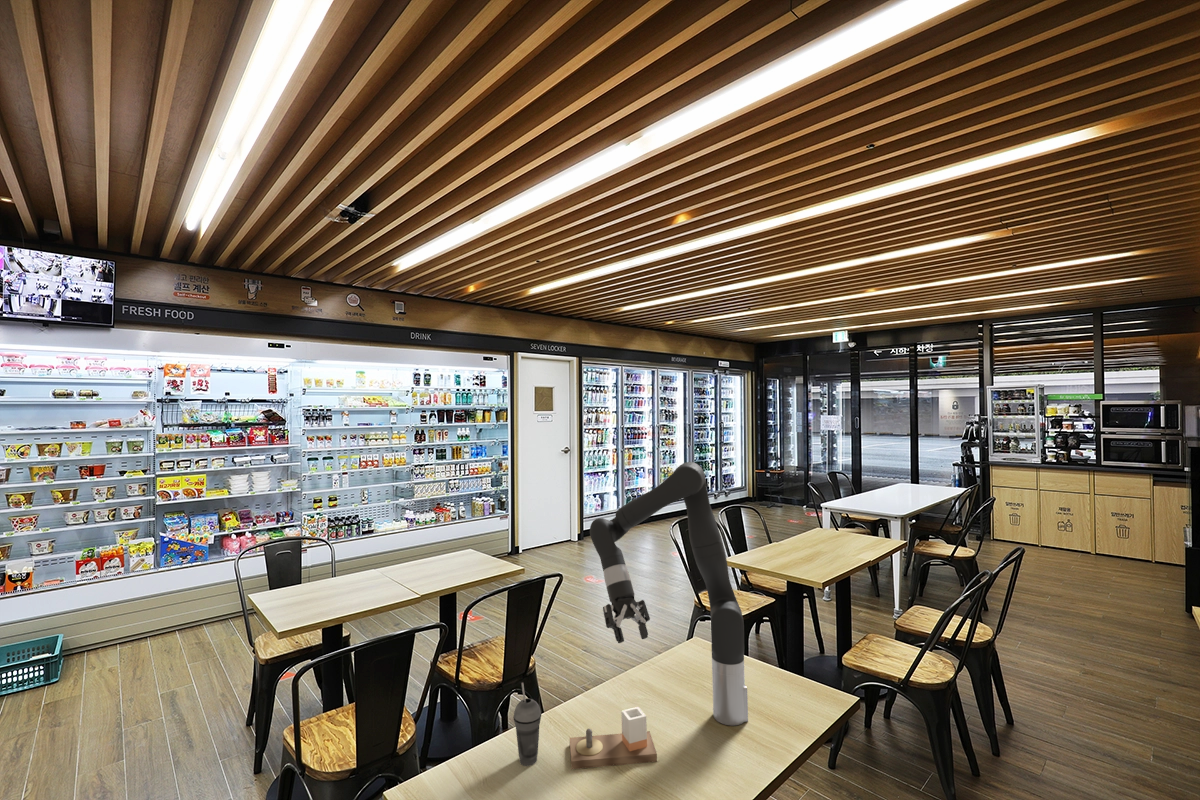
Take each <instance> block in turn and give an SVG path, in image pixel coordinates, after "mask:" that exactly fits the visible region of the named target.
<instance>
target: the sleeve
mask: <svg viewBox="0 0 1200 800" xmlns="http://www.w3.org/2000/svg"><path fill="white" fill-rule="evenodd" d="M647 726H648V725H647V715H646V713H644V711H643V710H642V708H640V706H635V707H631V708H628V709H627V708H625V709H623V710H621V733H622V741H623V743H624V744H625V745H626V747H627V748H628V750H629V751H633V750H637V749H641V748H644V747H647V731H648V730H647V729H648V728H647Z"/></svg>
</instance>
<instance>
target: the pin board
mask: <svg viewBox="0 0 1200 800" xmlns="http://www.w3.org/2000/svg"><path fill="white" fill-rule="evenodd" d="M569 749H570V751H569V753H570V754H569V755H570V763H571V765H570V768H571V770H580V769H588V768H589V769H590V768H601V767H611V766H613V767H614V766H623V765H633V764H644V763H645V764H646V763H656V762H658V753H657V750H656V747H655V744H654V741H653V738H652V734H651V732H650V730H649V731H648V730H647V747H644V748H641V749H637V750H633V751H629V750H628V748H627V747H626V745H625V744H624V743H623V741H622V732H621V733H612V734H611V733H610V734H609V733H608V734H601V735H600V734H599V735H598V734H597V735H593V730H592V729H591V728H587V729H586V732H585V736H576V737H569Z"/></svg>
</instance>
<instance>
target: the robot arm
mask: <svg viewBox="0 0 1200 800" xmlns="http://www.w3.org/2000/svg"><path fill="white" fill-rule="evenodd" d="M707 486H708V485H707V481H706V474H705V472H704V469H703V468H702V467H701V466H700V465H699V464H698V463H696V462H693V461H686V462H684V463H682V464H680V465H678V466H677V468H675V469H674V471H673V473H671V475H668V477H667V478H666V479H665V480H664V481H662V482H661V483H660V484H659V485H658V486H656V487H655V488H652V489H651V490H650V491H648V492H645V493H643V494H642V495H640V496H638V497H635V498H634V499H632V500H631V501H629V502H627V503H626V504H624V505H622V506H621V507H619V509H618V508H617V511H616V512H615V517H613V518H612V519H605V518H603V517H600V518H598V517H597V518H596V519H594V520H593V521H592V522H591V524H590V526H589V535H590V540H591V542H592V543H593V546H594V548H595V550H596V553H597V555H598V556H599V559H600V564H601V567H602V571H603V579H604V583H605V586H606V591H607V595H608V600H609V602H610V603H611V604H610V603H608V604H605V605H604V606H602V611H603V617H604V621H605V627H606V628H607V629H612V630H613V633H614V636H615V641H616V642H617V643H618V644H622V643H624V641H625V637H624V634H623V630H622V627H621V623H622V621H623V620H625V619H626V620H630V619H631V620H632V621H634V622H635V623H636V624H637V625H638V627H637V628H638V631H639V634H640V635H639V636H640V638H641V640H645V639H647V638H648V637H649V636H648V635H649V633H648V629H647V628H648V627H647V624H646V623H647V622H649V621H650V620H651V617H650V614H649V611H648V608H647V606H646V601H645V600H644V599H641V600H640V601H636V599H635V592H634V587H633V585H632V580H631V577H630V573H629V571H628V567H627V565H626V561H625V557H624V554H623V552H622V550H621V548H620V547H619V546H617V545H616V543H615V542H618V541H619V540H620V539H622V538H623V537H624V536H625V535H626V534H627V533H628V532H629V531H630V530H631V529H632V528H634V527H636V526H638V525H639V524H640V523H642V522H643V521H645V520H647V519H649V518H650V517H651V516H652V515H654V514H656V513H657V512H658V511H660V510H662V509H664V508H665V507H667V506H669V505H671V504H673V503H675V502H677V501H679V500H681V499H683V501H684V504H685V508H686V513H687V514H686V515H687V525H688V527H687V528H688V536H689V542H690V543H689V544H690V545H691V550H692V554H693V558H694V560H695V564H696V566H697V569H698V571H699V573H700V575H701V577H702V579H703V581H704V584H705V587H706V591H707V597H708V601H709V608H710V609H709V612H710V635H711V636H710V639H711V671H712V672H711V673H712V674H711V675H712V677H711V678H712V683H711V684H712V711H713V712H712V713H713V714H712V715H713V718H714V720H716V722H718V723H720V724H722V725H726V726H738V725H739V726H740V725H742V724H744V723H745V722H749V703H748V698H749V697H748V687H747V685H746V684H745V680H746V679H745V623H744V622H745V621H744V618H743V617H744V616H743V613H742V610H741V606H740V605H739V602H738V599H737V596H736V594H735V593H734V589H733V586H732V583H731V580H730V575H729V574H730V573H729V567H728V560H727V554H726V552H725V551H726V550H725V546H724V542H723V540H722V536H721V533H720V530H719V526H718V524H717V521H716V518H715V515H714V512H713V509H712V506H711V503H710V498H709V494H708V488H707ZM613 613H614V614H613Z"/></svg>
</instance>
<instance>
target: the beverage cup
mask: <svg viewBox="0 0 1200 800" xmlns="http://www.w3.org/2000/svg"><path fill="white" fill-rule="evenodd" d="M521 690H522V697H523V699H521V700H520V701H519V702H518V703H517V704H516V705H515V706H516V707H515V709H514V712H513V716H512V717H513V722H514V726H515V731H516V732H515V733H516V741H517V743H516V744H517V750H518V751H517V753H518V758H519V764H520V765H522V766H523V767H530V766H533V765H535V764H536V763H537V761H538V754H539V740H540V738H539V737H540V723H541V719H542V711H541V708H540V705H539V703H538V702H537V701H536V700H534V699H533V698H526V693H525V686H524V682H521Z"/></svg>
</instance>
